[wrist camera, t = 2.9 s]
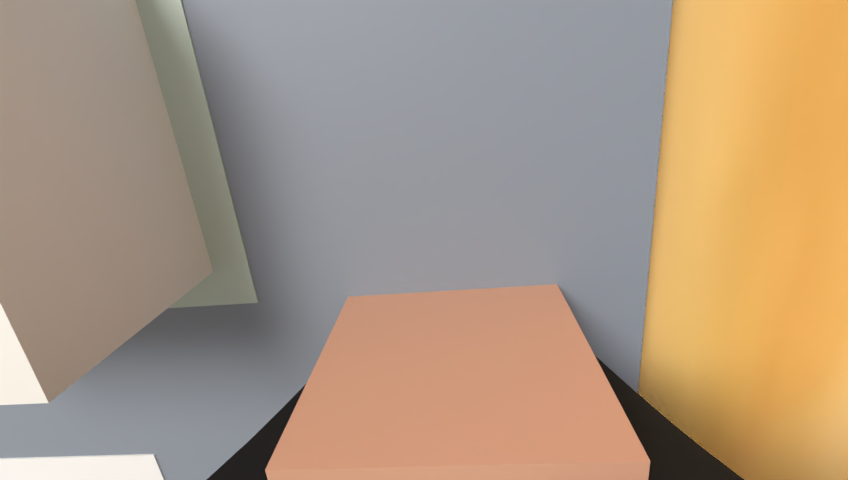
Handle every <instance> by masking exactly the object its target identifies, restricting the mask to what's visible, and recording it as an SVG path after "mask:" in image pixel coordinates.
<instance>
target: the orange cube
mask: <svg viewBox="0 0 848 480" xmlns="http://www.w3.org/2000/svg"><path fill="white" fill-rule="evenodd" d="M649 469H650V459H649V457H648V456H647V454H646V452H645V450H644V448H643V446H642V444H641V442H640V440H639V438H638V437H637V435H636V433H635V431H634V429H633V427H632V425H631V423H630V421H629V419H628V418H627V416H626V414H625V412H624V410H623V408H622V406H621V404H620V402H619V401H618V399H617V397H616V395H615V393H614V391H613V389H612V387H611V385H610V383H609V382H608V380H607V378H606V376H605V374H604V372H603V370H602V368H601V366H600V364H599V363H598V361H597V359H596V357H595V355H594V353H593V351H592V349H591V347H590V346H589V344H588V342H587V340H586V338H585V336H584V334H583V332H582V330H581V328H580V327H579V325H578V323H577V321H576V319H575V317H574V315H573V313H572V311H571V309H570V308H569V306H568V304H567V302H566V300H565V298H564V296H563V294H562V292H561V291H560V289H559V287H558V285H557V284H552V285H535V286H518V287H502V288H485V289H468V290H451V291H435V292H418V293H401V294H384V295H368V296H351V297H348V298H347V300H346V302H345V304H344V306H343V308H342V310H341V312H340V314H339V317H338V319H337V321H336V323H335V325H334V327H333V329H332V331H331V333H330V335H329V337H328V340H327V342H326V344H325V346H324V348H323V350H322V352H321V354H320V356H319V358H318V360H317V362H316V365H315V367H314V369H313V371H312V373H311V375H310V377H309V379H308V381H307V383H306V385H305V388H304V390H303V392H302V394H301V396H300V398H299V400H298V402H297V404H296V406H295V408H294V411H293V413H292V415H291V417H290V419H289V421H288V423H287V425H286V427H285V429H284V431H283V433H282V436H281V438H280V440H279V442H278V444H277V446H276V448H275V450H274V452H273V454H272V456H271V459H270V461H269V463H268V465H267V467H266V469H265V472H266V476H267V479H268V480H648V478H649Z"/></svg>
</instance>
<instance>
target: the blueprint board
mask: <svg viewBox="0 0 848 480" xmlns="http://www.w3.org/2000/svg"><path fill="white" fill-rule="evenodd" d="M135 1H136V4H137V8H138V11H139V15H140V18H141V21H142V25H143V28H144V32H145V35H146V39H147V42H148V46H149V49H150V53H151V56H152V60H153V63H154V67H155V70H156V74H157V77H158V81H159V84H160V88H161V91H162V95H163V98H164V102H165V105H166V109H167V112H168V116H169V119H170V122H171V126H172V129H173V133H174V136H175V140H176V143H177V147H178V150H179V154H180V157H181V161H182V164H183V168H184V171H185V175H186V178H187V182H188V185H189V189H190V192H191V196H192V199H193V203H194V206H195V210H196V213H197V217H198V220H199V224H200V227H201V230H202V234H203V237H204V241H205V244H206V248H207V251H208V255H209V258H210V262H211V265H212V269H213V272H212V273H211V274H210V275H209V276H207V277H206V278H205V279H204V280H202V281H201V282H200V283H199V284H197V285H196V286H195V287H194V288H192V289H191V290H190V291H189V292H187V293H186V294H185V295H184V296H182V297H181V298H180V299H179V300H177V301H176V302H175V303H174V304H172V305H171V306H170V307H169V308H167V309H166V310H165V311H164V312H162V313H161V314H160V315H159V316H157V317H156V318H155V319H154V320H152V321H151V322H150V323H149V324H147V325H146V326H145V327H144V328H142V329H141V330H140V331H139V332H137V333H136V334H135V335H134V336H132V337H131V338H130V339H129V340H127V341H126V342H125V343H124V344H122V345H121V346H120V347H118V348H117V349H116V350H115V351H113V352H112V353H111V354H110V355H108V356H107V357H106V358H105V359H103V360H102V361H101V362H100V363H98V364H97V365H96V366H95V367H93V368H92V369H91V370H90V371H88V372H87V373H86V374H85V375H83V376H82V377H81V378H80V379H78V380H77V381H76V382H75V383H73V384H72V385H71V386H70V387H68V388H67V389H66V390H65V391H63V392H62V393H61V394H60V395H58V396H57V397H56V398H55V399H53V400H52V401H51V402H50V403H40V404H15V405H0V480H207V479H208V478H209V477H210V476H211V475H212V474H213V473H214V472H215V471H216V470H218V469H219V468H220V467H221V466H222V465H223V464H224V463H225V462H226V461H227V460H229V459H230V458H231V457H232V456H233V455H234V454H235V453H236V452H237V451H238V450H239V449H241V448H242V447H243V446H244V445H245V444H246V443H247V442H248V441H249V440H250V439H251V438H252V437H253V436H255V435H256V434H257V433H258V432H259V431H260V430H261V429H262V428H263V427H264V426H265V425H266V424H267V423H268V422H269V421H270V420H271V419H272V418H273V417H274V416H275V415H276V414H277V413H278V412H279V411H280V410H281V409H282V408H283V407H284V406H285V405H286V404H287V403H288V402H289V401H290V400H291V399H292V398H293V397H294V395H295V394H296V393H297V392H298V391H299V390H300V389H301V388H302V387H303V386H304V385H305V384H306V383H307V381H308V379H309V377H310V375H311V373H312V371H313V369H314V367H315V365H316V362H317V360H318V358H319V356H320V354H321V352H322V350H323V348H324V346H325V344H326V342H327V340H328V337H329V335H330V333H331V331H332V329H333V327H334V325H335V323H336V321H337V319H338V317H339V314H340V312H341V310H342V308H343V306H344V304H345V302H346V300H347V298H348V297H351V296H368V295H384V294H401V293H418V292H435V291H451V290H468V289H485V288H502V287H518V286H535V285H552V284H557V285H558V287H559V289H560V291H561V292H562V294H563V296H564V298H565V300H566V302H567V304H568V306H569V308H570V309H571V311H572V313H573V315H574V317H575V319H576V321H577V323H578V325H579V327H580V328H581V330H582V332H583V334H584V336H585V338H586V340H587V342H588V344H589V346H590V347H591V349H592V351H593V353H594V355H595V356H596V357H597V358H598V359H600V360H601V361H602V362H603V363H604V364H605V365H606V366H607V367H608V368H610V369H611V370H612V371H613V372H614V373H615V374H616V375H617V376H618V377H620V378H621V379H622V380H623V381H624V382H625V383H626V384H627V385H628V386H630V387H631V388H632V389H633V390H634V391H635V392H636V393H637V394H638V386H639V375H640V363H641V352H642V341H643V330H644V319H645V307H646V296H647V285H648V274H649V263H650V251H651V240H652V229H653V218H654V207H655V195H656V184H657V173H658V162H659V151H660V140H661V128H662V117H663V106H664V95H665V84H666V72H667V61H668V50H669V39H670V28H671V16H672V5H673V0H135Z"/></svg>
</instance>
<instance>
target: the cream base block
mask: <svg viewBox="0 0 848 480" xmlns="http://www.w3.org/2000/svg"><path fill="white" fill-rule="evenodd" d="M212 272H213V269H212V265H211V262H210V258H209V255H208V251H207V248H206V244H205V241H204V237H203V234H202V230H201V227H200V224H199V220H198V217H197V213H196V210H195V206H194V203H193V199H192V196H191V192H190V189H189V185H188V182H187V178H186V175H185V171H184V168H183V164H182V161H181V157H180V154H179V150H178V147H177V143H176V140H175V136H174V133H173V129H172V126H171V122H170V119H169V116H168V112H167V109H166V105H165V102H164V98H163V95H162V91H161V88H160V84H159V81H158V77H157V74H156V70H155V67H154V63H153V60H152V56H151V53H150V49H149V46H148V42H147V39H146V35H145V32H144V28H143V25H142V21H141V18H140V15H139V11H138V8H137V4H136V1H135V0H0V405H15V404H40V403H50V402H51V401H52V400H53V399H55V398H56V397H57V396H58V395H60V394H61V393H62V392H63V391H65V390H66V389H67V388H68V387H70V386H71V385H72V384H73V383H75V382H76V381H77V380H78V379H80V378H81V377H82V376H83V375H85V374H86V373H87V372H88V371H90V370H91V369H92V368H93V367H95V366H96V365H97V364H98V363H100V362H101V361H102V360H103V359H105V358H106V357H107V356H108V355H110V354H111V353H112V352H113V351H115V350H116V349H117V348H118V347H120V346H121V345H122V344H124V343H125V342H126V341H127V340H129V339H130V338H131V337H132V336H134V335H135V334H136V333H137V332H139V331H140V330H141V329H142V328H144V327H145V326H146V325H147V324H149V323H150V322H151V321H152V320H154V319H155V318H156V317H157V316H159V315H160V314H161V313H162V312H164V311H165V310H166V309H167V308H169V307H170V306H171V305H172V304H174V303H175V302H176V301H177V300H179V299H180V298H181V297H182V296H184V295H185V294H186V293H187V292H189V291H190V290H191V289H192V288H194V287H195V286H196V285H197V284H199V283H200V282H201V281H202V280H204V279H205V278H206V277H207V276H209V275H210V274H211V273H212Z"/></svg>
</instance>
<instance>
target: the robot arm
mask: <svg viewBox="0 0 848 480" xmlns="http://www.w3.org/2000/svg"><path fill="white" fill-rule="evenodd" d="M595 357H596V356H595ZM596 359H597V361H598V363H599V364H600V366H601V368H602V370H603V372H604V374H605V376H606V378H607V380H608V382H609V383H610V385H611V387H612V389H613V391H614V393H615V395H616V397H617V399H618V401H619V402H620V404H621V406H622V408H623V410H624V412H625V414H626V416H627V418H628V419H629V421H630V423H631V425H632V427H633V429H634V431H635V433H636V435H637V437H638V438H639V440H640V442H641V444H642V446H643V448H644V450H645V452H646V454H647V456H648V457H649V459H650V469H649V478H648V480H744V479H742V478H741V477H740V476H738V475H737V474H736V473H734V472H733V471H732V470H730V469H729V468H728V467H727V466H725V465H724V464H723V463H721V462H720V461H719V460H717V459H716V458H715V457H713V456H712V455H711V454H709V453H708V452H707V451H706V450H704V449H703V448H702V447H700V446H699V445H698V444H697V443H695V442H694V441H693V440H692V439H690V438H689V437H688V436H687V435H685V434H684V433H683V432H682V431H681V430H679V429H678V428H677V427H676V426H675V425H673V424H672V423H671V422H670V421H669V420H667V419H666V418H665V417H664V416H663V415H661V414H660V413H659V412H658V411H657V410H656V409H655V408H653V407H652V406H651V405H650V404H649V403H648V402H646V401H645V400H644V399H643V398H642V397H641V396H640V395H639V394H637V393H636V392H635V391H634V390H633V389H632V388H631V387H630V386H628V385H627V384H626V383H625V382H624V381H623V380H622V379H621V378H620V377H618V376H617V375H616V374H615V373H614V372H613V371H612V370H611V369H610V368H608V367H607V366H606V365H605V364H604V363H603V362H602V361H601V360H600V359H598V358H597V357H596ZM305 385H306V384H305ZM305 385H304V386H303V387H302V388H301V389H300V390H299V391H298V392H297V393H296V394H295V395H294V397H293V398H292V399H291V400H290V401H289V402H288V403H287V404H286V405H285V406H284V407H283V408H282V409H281V410H280V411H279V412H278V413H277V414H276V415H275V416H274V417H273V418H272V419H271V420H270V421H269V422H268V423H267V424H266V425H265V426H264V427H263V428H262V429H261V430H260V431H259V432H258V433H257V434H256V435H255V436H253V437H252V438H251V439H250V440H249V441H248V442H247V443H246V444H245V445H244V446H243V447H242V448H241V449H239V450H238V451H237V452H236V453H235V454H234V455H233V456H232V457H231V458H230V459H229V460H227V461H226V462H225V463H224V464H223V465H222V466H221V467H220V468H219V469H218V470H216V471H215V472H214V473H213V474H212V475H211V476H210V477H209V478H208V479H207V480H268V479H267V476H266V472H265V469H266V467H267V465H268V463H269V461H270V459H271V456H272V454H273V452H274V450H275V448H276V446H277V444H278V442H279V440H280V438H281V436H282V433H283V431H284V429H285V427H286V425H287V423H288V421H289V419H290V417H291V415H292V413H293V411H294V408H295V406H296V404H297V402H298V400H299V398H300V396H301V394H302V392H303V390H304V388H305Z"/></svg>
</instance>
